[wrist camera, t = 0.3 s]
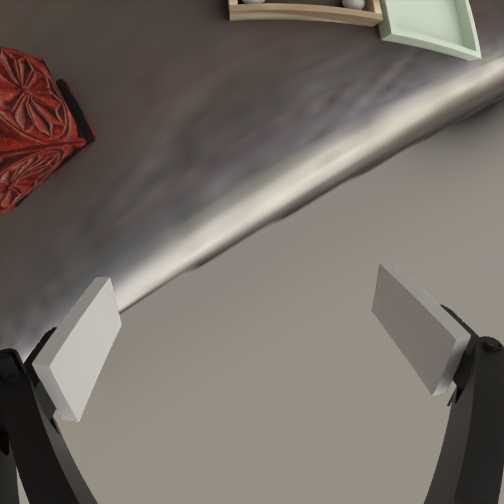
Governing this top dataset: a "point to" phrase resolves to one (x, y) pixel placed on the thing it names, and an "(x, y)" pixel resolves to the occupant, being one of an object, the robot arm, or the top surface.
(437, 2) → the bin
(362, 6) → the pebble
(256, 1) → the pebble
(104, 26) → the top surface
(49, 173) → the vase
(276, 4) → the bin
